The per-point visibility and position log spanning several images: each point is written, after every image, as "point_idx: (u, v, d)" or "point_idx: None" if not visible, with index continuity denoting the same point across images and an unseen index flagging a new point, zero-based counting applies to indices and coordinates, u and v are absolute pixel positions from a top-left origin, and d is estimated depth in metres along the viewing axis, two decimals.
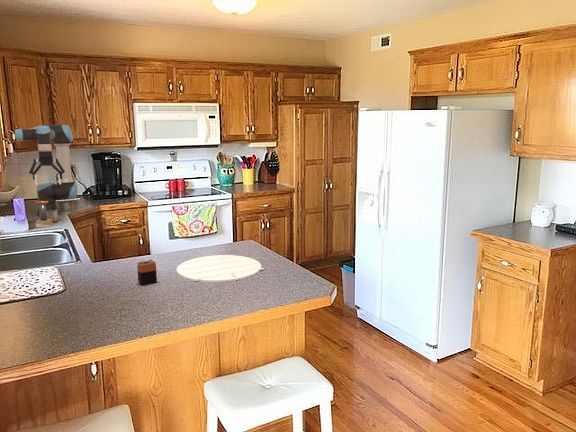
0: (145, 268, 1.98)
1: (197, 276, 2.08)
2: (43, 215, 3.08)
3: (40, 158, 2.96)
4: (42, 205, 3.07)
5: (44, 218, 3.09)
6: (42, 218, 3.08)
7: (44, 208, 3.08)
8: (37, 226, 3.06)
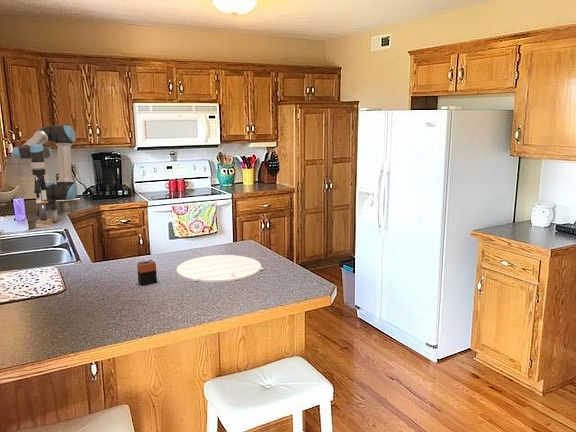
0: (145, 268, 1.98)
1: (197, 276, 2.08)
2: (43, 215, 3.08)
3: None
4: (42, 205, 3.07)
5: (44, 218, 3.09)
6: (42, 218, 3.08)
7: (44, 208, 3.08)
8: (37, 226, 3.06)
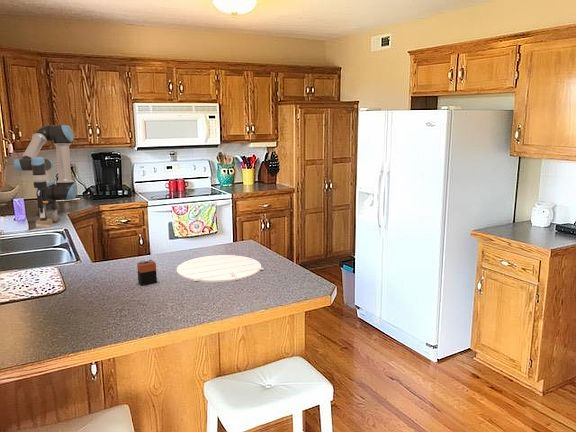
0: (145, 268, 1.98)
1: (197, 276, 2.08)
2: None
3: None
4: None
5: (44, 218, 3.09)
6: (42, 218, 3.08)
7: (44, 208, 3.08)
8: (37, 226, 3.06)
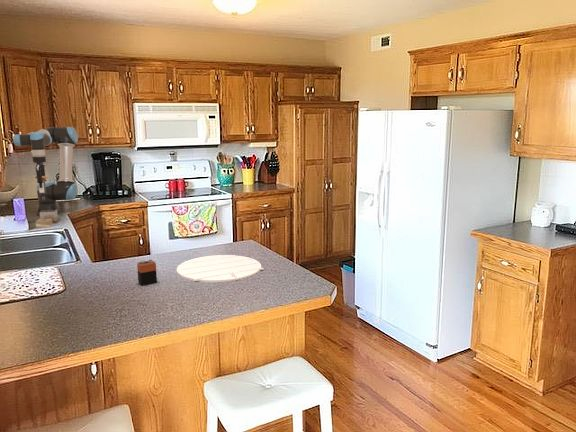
0: (145, 268, 1.98)
1: (197, 276, 2.08)
2: None
3: None
4: None
5: (43, 193, 3.10)
6: (41, 193, 3.09)
7: (43, 183, 3.09)
8: (37, 226, 3.06)
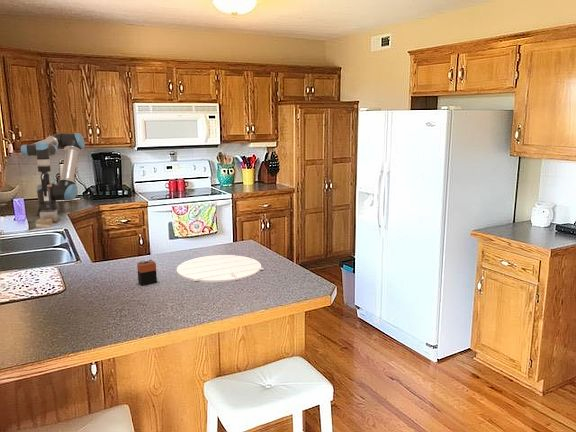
0: (145, 268, 1.98)
1: (197, 276, 2.08)
2: None
3: None
4: None
5: (48, 201, 3.20)
6: (46, 201, 3.20)
7: (48, 191, 3.19)
8: (37, 226, 3.06)
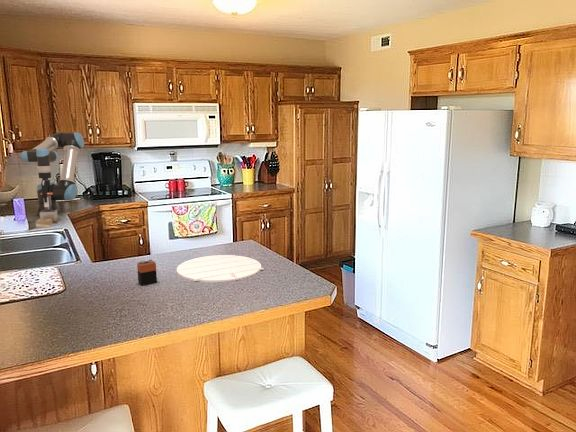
0: (145, 268, 1.98)
1: (197, 276, 2.08)
2: None
3: None
4: None
5: (49, 209, 3.21)
6: (47, 209, 3.21)
7: (49, 199, 3.21)
8: (37, 226, 3.06)
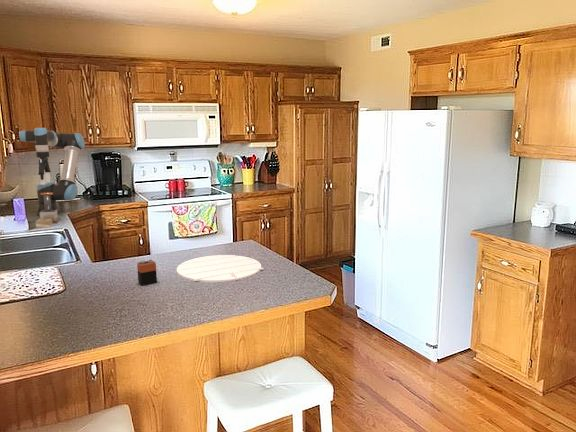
0: (145, 268, 1.98)
1: (197, 276, 2.08)
2: (48, 206, 3.21)
3: None
4: (47, 196, 3.19)
5: (49, 209, 3.21)
6: (47, 209, 3.21)
7: (49, 199, 3.21)
8: (37, 226, 3.06)
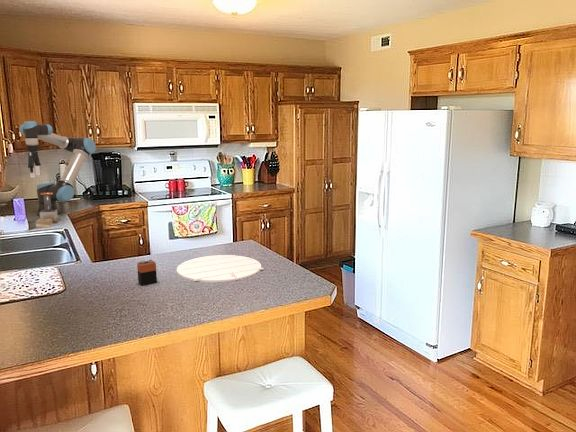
0: (145, 268, 1.98)
1: (197, 276, 2.08)
2: (48, 206, 3.21)
3: None
4: (47, 196, 3.19)
5: (49, 209, 3.21)
6: (47, 209, 3.21)
7: (49, 199, 3.21)
8: (37, 226, 3.06)
